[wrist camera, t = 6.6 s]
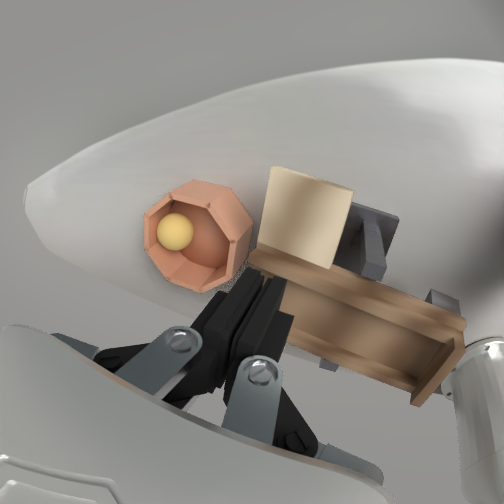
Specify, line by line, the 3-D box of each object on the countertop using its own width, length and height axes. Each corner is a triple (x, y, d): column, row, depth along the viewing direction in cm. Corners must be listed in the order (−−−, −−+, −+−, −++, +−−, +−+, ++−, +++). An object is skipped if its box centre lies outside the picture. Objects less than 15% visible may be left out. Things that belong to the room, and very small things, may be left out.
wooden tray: (490, 235, 18) (514, 274, 13) (421, 358, 25) (415, 411, 20) (293, 160, 24) (255, 173, 19) (264, 293, 31) (229, 331, 26)
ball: (196, 223, 29) (156, 222, 28) (193, 258, 31) (155, 257, 30) (193, 207, 33) (157, 206, 32) (191, 239, 35) (157, 238, 34)
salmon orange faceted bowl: (258, 194, 30) (241, 210, 26) (243, 278, 35) (227, 303, 31) (170, 174, 32) (144, 186, 28) (167, 253, 37) (145, 272, 33)
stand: (397, 216, 26) (414, 259, 19) (352, 325, 33) (347, 383, 26) (350, 201, 27) (348, 239, 20) (313, 313, 34) (298, 370, 27)
